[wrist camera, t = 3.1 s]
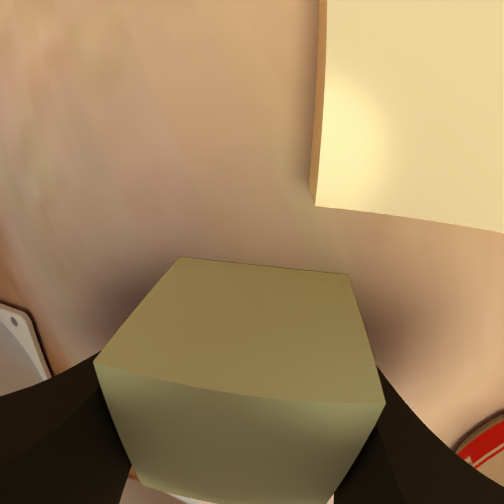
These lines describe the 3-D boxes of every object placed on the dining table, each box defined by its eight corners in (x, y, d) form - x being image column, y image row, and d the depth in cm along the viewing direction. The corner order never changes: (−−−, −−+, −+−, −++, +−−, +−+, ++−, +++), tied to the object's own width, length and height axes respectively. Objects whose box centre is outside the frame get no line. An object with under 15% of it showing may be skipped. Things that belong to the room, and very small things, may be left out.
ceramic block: (307, 182, 9) (315, 205, 6) (316, -92, 5) (319, -144, 2) (552, 226, 8) (601, 255, 5) (549, -3, 4) (590, -17, 1)
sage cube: (186, 377, 11) (142, 484, 7) (179, 256, 9) (93, 361, 5) (317, 394, 11) (319, 512, 6) (347, 274, 9) (385, 403, 4)
